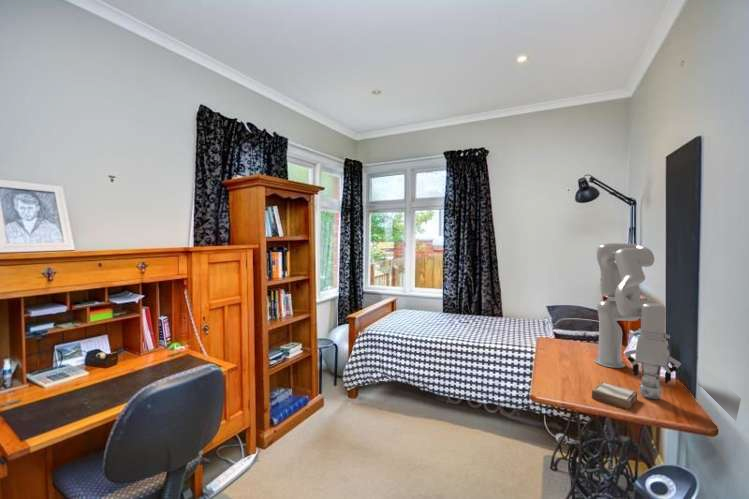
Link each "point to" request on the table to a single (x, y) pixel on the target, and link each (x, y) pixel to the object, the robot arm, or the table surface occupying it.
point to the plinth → (614, 395)
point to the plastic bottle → (650, 379)
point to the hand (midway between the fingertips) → (651, 378)
